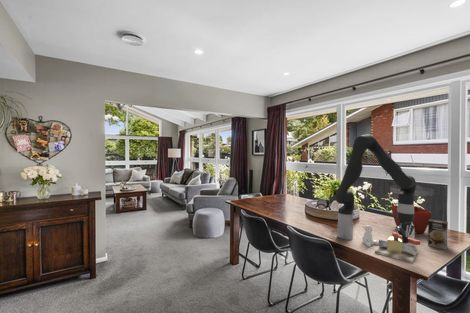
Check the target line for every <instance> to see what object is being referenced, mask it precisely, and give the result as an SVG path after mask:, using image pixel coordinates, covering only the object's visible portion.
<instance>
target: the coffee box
mask: <svg viewBox="0 0 470 313" xmlns="http://www.w3.org/2000/svg"><path fill="white" fill-rule="evenodd" d="M448 225H449V222H448V221H443V220H438V219H431V218H430V219H429V221H428V226H427V228H428V229H427V230H428V231H427V246H428V247H433V248H437V249H442V250H447V249H448V229H449V228H448Z"/></svg>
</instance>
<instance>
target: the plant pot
mask: <svg viewBox="0 0 470 313" xmlns="http://www.w3.org/2000/svg"><path fill="white" fill-rule="evenodd" d="M397 206H398V205H391V206H390V208H391V212H392V218H393V220H394V223H395V227H398V226H399V220H398V219H397ZM431 217H432V211H429V210H427V209H424V208H421V207H419V206H415V205H414V221H413V222H412V223H413V225H414V231H415V234H424V233H425V232H426V230H427V228H428V221H429V219H431Z"/></svg>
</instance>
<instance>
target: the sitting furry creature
mask: <svg viewBox="0 0 470 313" xmlns="http://www.w3.org/2000/svg"><path fill="white" fill-rule="evenodd" d="M362 228H363V230H364V231H365V232H364V234H363V236H362V243H364V245H366V246H367V247H371V246H374V245H375V246H379V245H378V243H379V241H378V240H374V239H373V234H372V232H373V227H372V226H371V225H369V224H367V225H364V226H362Z"/></svg>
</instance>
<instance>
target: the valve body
mask: <svg viewBox="0 0 470 313" xmlns="http://www.w3.org/2000/svg"><path fill="white" fill-rule="evenodd" d="M378 242H379V243H378V245H377V246H378V247H381V248H385V249H387V251H390V252H394V253H398V254H403V253H405V254H409V255H413V256H414V253H415V251H416V250H415V246H414V247H410V246H405V245H404V243H403V242H402V239H400V238H398V239H394V238H393V236H389V237H388V238H387V240H383V239H379V240H378Z"/></svg>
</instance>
